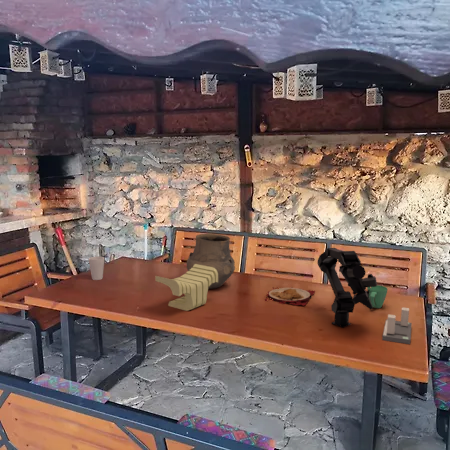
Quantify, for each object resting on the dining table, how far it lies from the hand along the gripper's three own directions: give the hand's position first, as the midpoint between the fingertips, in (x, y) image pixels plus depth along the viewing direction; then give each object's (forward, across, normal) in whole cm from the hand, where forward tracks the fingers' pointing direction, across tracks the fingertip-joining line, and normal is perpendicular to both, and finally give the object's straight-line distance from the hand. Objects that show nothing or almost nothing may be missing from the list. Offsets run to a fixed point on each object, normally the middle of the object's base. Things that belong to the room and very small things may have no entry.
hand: (371, 308), depth 201 cm
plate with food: (-15, +35, +44) cm, 58 cm away
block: (+11, -4, -2) cm, 12 cm away
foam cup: (-82, +28, +142) cm, 167 cm away
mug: (+10, +33, +6) cm, 35 cm away
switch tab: (+15, +8, -7) cm, 18 cm away
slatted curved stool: (-42, +2, +81) cm, 91 cm away
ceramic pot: (-42, +39, +83) cm, 100 cm away
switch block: (+15, +2, -3) cm, 15 cm away
